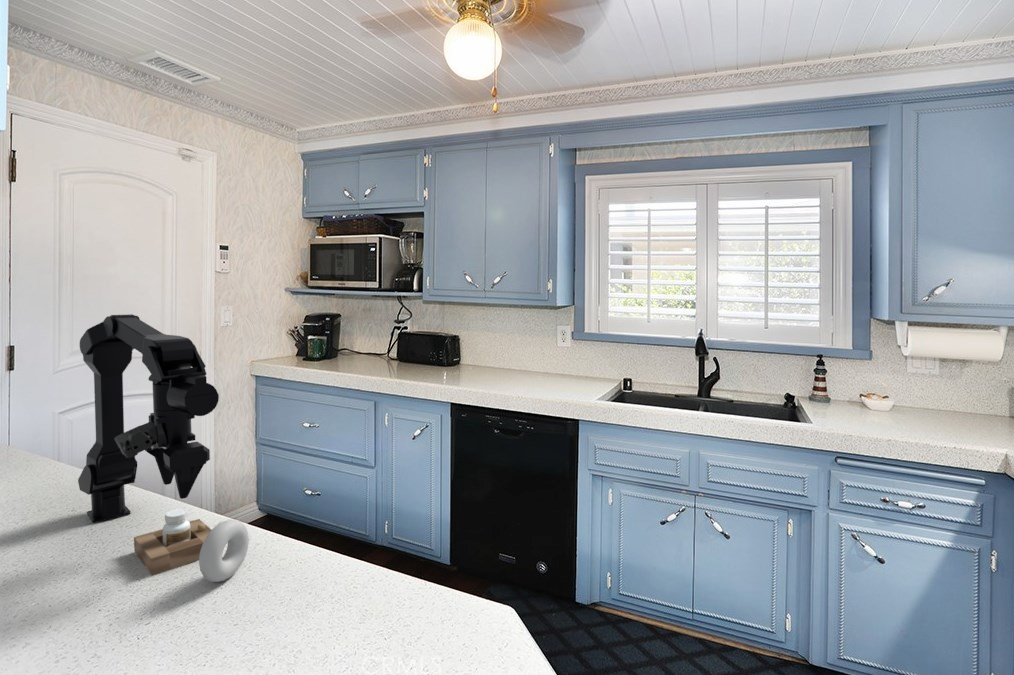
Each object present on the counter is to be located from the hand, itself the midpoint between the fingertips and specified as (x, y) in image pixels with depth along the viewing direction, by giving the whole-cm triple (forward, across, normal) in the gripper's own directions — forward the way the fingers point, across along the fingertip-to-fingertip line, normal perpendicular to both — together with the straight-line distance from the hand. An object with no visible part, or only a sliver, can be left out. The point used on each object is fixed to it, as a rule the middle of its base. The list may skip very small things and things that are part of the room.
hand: (175, 490), depth 98 cm
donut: (+12, +15, +3) cm, 20 cm away
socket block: (+12, 0, 0) cm, 12 cm away
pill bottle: (+12, 0, 0) cm, 12 cm away
